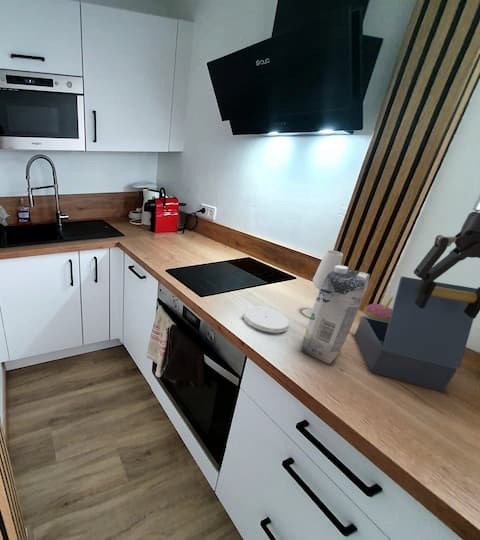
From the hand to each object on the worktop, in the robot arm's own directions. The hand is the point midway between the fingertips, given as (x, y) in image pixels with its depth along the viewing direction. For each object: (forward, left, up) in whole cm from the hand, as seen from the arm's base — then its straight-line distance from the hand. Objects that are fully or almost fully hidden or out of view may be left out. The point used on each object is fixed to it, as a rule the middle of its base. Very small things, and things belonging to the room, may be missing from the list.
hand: (443, 310), depth 67 cm
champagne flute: (+18, -26, -22) cm, 39 cm away
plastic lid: (+34, -11, -22) cm, 42 cm away
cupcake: (-1, -29, -22) cm, 37 cm away
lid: (0, -3, -5) cm, 6 cm away
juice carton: (+19, -2, -22) cm, 29 cm away
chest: (0, -8, -21) cm, 23 cm away
